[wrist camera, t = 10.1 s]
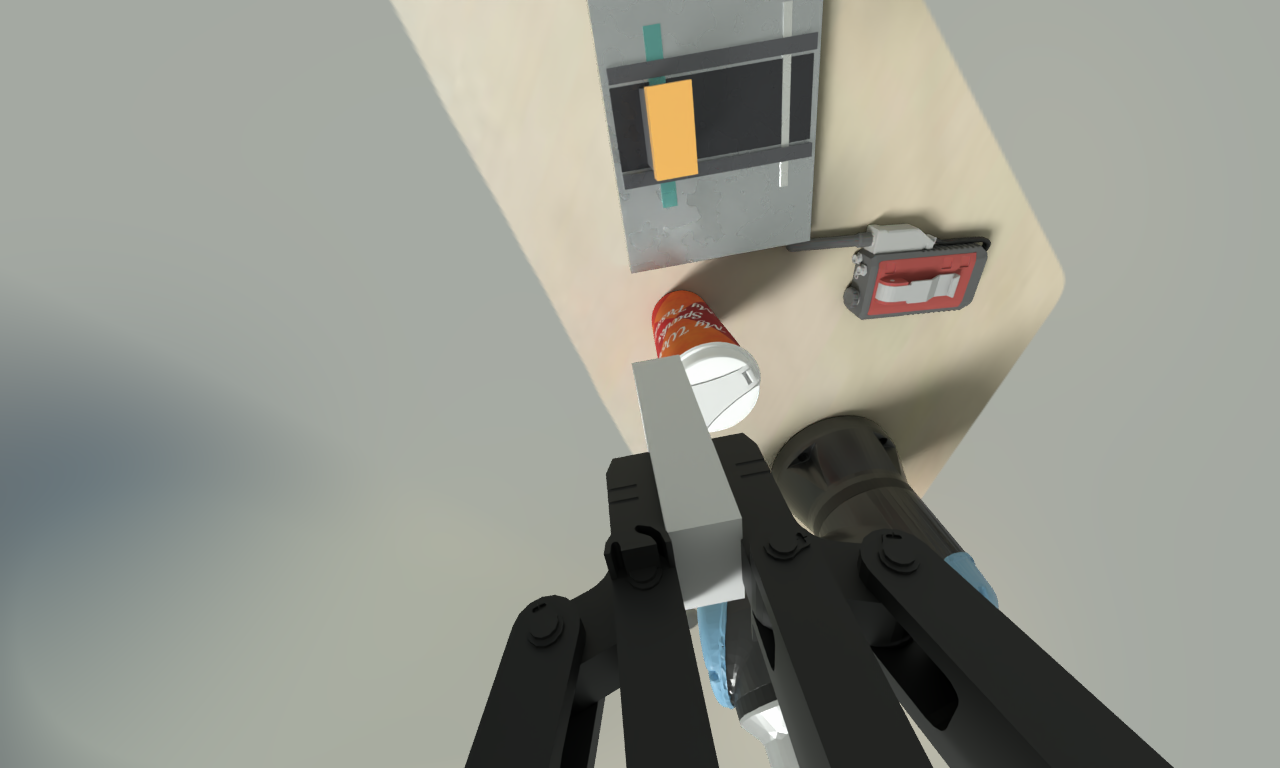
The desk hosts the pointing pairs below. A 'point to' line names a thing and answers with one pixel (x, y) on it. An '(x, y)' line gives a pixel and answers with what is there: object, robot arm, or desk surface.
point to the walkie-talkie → (907, 270)
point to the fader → (669, 129)
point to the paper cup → (707, 358)
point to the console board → (713, 122)
